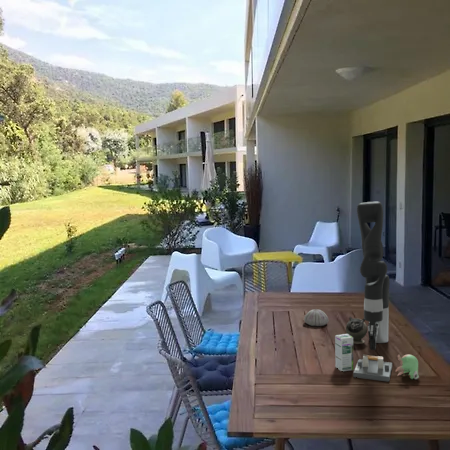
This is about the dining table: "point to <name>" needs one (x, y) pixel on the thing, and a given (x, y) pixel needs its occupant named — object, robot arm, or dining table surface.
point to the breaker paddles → (380, 359)
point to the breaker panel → (373, 370)
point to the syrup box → (344, 352)
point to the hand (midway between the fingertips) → (372, 349)
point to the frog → (408, 366)
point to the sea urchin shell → (316, 318)
